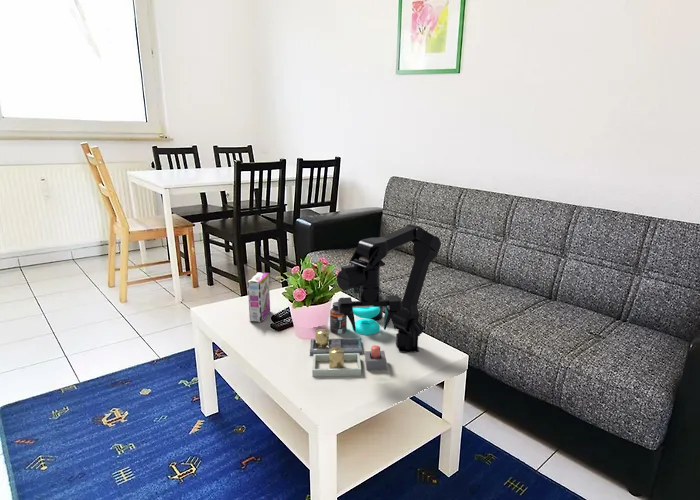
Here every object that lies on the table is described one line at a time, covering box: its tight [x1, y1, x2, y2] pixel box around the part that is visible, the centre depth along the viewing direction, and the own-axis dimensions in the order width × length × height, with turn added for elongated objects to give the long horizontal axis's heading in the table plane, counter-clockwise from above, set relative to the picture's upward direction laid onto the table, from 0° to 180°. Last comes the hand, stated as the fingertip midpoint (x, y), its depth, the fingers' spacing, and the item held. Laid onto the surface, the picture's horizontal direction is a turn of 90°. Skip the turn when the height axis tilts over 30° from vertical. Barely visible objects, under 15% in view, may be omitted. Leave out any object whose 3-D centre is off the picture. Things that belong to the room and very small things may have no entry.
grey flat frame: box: [309, 337, 363, 357], centre depth 148 cm, size 17×10×2 cm, turn 92°
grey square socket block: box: [364, 350, 387, 371], centre depth 138 cm, size 6×6×4 cm
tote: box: [311, 353, 362, 377], centre depth 136 cm, size 14×9×3 cm, turn 92°
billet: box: [328, 347, 345, 369], centre depth 136 cm, size 4×4×6 cm
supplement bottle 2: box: [367, 287, 384, 322], centre depth 171 cm, size 7×7×12 cm
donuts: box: [351, 307, 381, 336], centre depth 161 cm, size 10×10×10 cm
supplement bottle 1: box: [329, 301, 348, 335], centre depth 159 cm, size 6×6×11 cm
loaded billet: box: [315, 328, 330, 349], centre depth 147 cm, size 4×4×6 cm
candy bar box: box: [247, 271, 271, 323], centre depth 172 cm, size 11×5×16 cm, turn 172°
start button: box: [370, 345, 381, 359], centre depth 137 cm, size 3×3×3 cm
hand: (369, 330), depth 136 cm, fingers open, 9 cm apart
